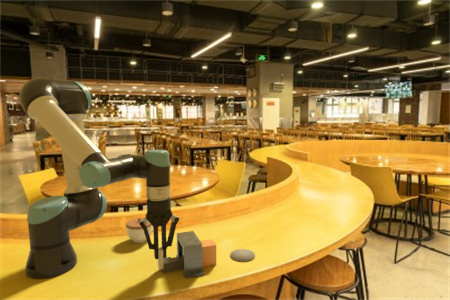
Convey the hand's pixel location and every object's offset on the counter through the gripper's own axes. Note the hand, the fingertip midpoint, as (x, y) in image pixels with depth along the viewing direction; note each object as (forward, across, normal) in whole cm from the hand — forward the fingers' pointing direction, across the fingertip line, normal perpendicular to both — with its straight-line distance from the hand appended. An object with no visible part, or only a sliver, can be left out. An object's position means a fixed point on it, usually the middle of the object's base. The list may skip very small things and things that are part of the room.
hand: (160, 267), depth 98 cm
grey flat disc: (+1, +30, 0) cm, 30 cm away
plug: (+1, +10, 0) cm, 10 cm away
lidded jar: (+2, -4, +28) cm, 28 cm away
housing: (+1, +10, 0) cm, 10 cm away
